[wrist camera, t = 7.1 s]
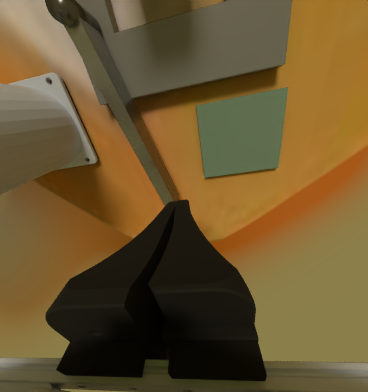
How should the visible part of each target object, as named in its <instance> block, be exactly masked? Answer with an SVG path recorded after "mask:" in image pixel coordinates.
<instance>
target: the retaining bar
mask: <svg viewBox="0 0 368 392" xmlns="http://www.w3.org/2000/svg"><path fill="white" fill-rule="evenodd" d="M45 3H46V6H47V9H48V11H49V12H50V14H51V15H52V17H53V18H54V19H56V20H57V21H58V22H60V23H62V24H63V25H64V26H65V28H66V30H67V32H68V33H69V35H70V37H71V39H72V41H73V42H74V44H75V46H76V48H77V50H78V51H79V53H80V55H81V57H82V58H83V60H84V62H85V64H86V66H87V67H88V69H89V71H90V73H91V75H92V76H93V78H94V80H95V82H96V83H97V85H98V87H99V89H100V91H101V92H102V94H103V96H104V98H105V100H106V101H107V103H108V105H109V107H110V109H111V110H112V112H113V114H114V116H115V117H116V119H117V121H118V123H119V125H120V126H121V128H122V130H123V132H124V134H125V135H126V137H127V139H128V141H129V142H130V144H131V146H132V148H133V150H134V151H135V153H136V155H137V157H138V159H139V160H140V162H141V164H142V166H143V167H144V169H145V171H146V173H147V175H148V176H149V178H150V180H151V182H152V184H153V185H154V187H155V189H156V191H157V193H158V194H159V196H160V198H161V200H162V201H163V203H164V205H165V206H166V205H167V204H168V202H171V201H178V195H179V194H178V192H177V190H176V188H175V185H174V183H173V181H172V179H171V177H170V175H169V173H168V171H167V169H166V167H165V165H164V163H163V161H162V159H161V157H160V155H159V153H158V151H157V149H156V147H155V145H154V143H153V141H152V138H151V136H150V134H149V132H148V130H147V128H146V126H145V124H144V122H143V120H142V118H141V116H140V114H139V112H138V110H137V108H136V106H135V104H134V102H133V100H132V98H131V96H130V94H129V91H128V89H127V87H126V85H125V83H124V81H123V79H122V77H121V75H120V73H119V71H118V69H117V67H116V65H115V63H114V61H113V59H112V57H111V55H110V53H109V51H108V49H107V47H106V44H105V42H104V40H103V38H102V36H101V34H100V26H99V23H98V21H97V19H96V18H95V17H94V16H93V15H92V14H91V13H89V12H88V11H87V10H86V9H85V8H84V7H83V6H81V5H80V4H79V3H78V2H77V1H76V0H45Z"/></svg>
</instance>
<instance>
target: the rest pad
mask: <svg viewBox="0 0 368 392" xmlns="http://www.w3.org/2000/svg"><path fill="white" fill-rule="evenodd" d="M287 92H288V87H286V88H281V89H276V90H271V91H266V92H261V93H256V94H251V95H246V96H242V97H237V98H232V99H227V100H222V101H217V102H212V103H207V104H202V105H197V106H196V109H197V117H198V126H199V134H200V143H201V151H202V159H203V168H204V176H205V178H207V177H214V176H221V175H228V174H236V173H243V172H250V171H258V170H265V169H272V168H278V164H279V156H280V148H281V140H282V132H283V124H284V116H285V108H286V100H287Z"/></svg>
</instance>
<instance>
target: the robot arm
mask: <svg viewBox="0 0 368 392" xmlns="http://www.w3.org/2000/svg"><path fill="white" fill-rule="evenodd" d="M50 79H51V80H52V84H51V83H50V81H49V80H50ZM87 158H89V160H90V161H88V160H87ZM97 161H98V158H97V156H96V153H95V151H94V149H93V147H92V144H91V142H90V140H89V138H88V136H87V133H86V131H85V129H84V127H83V125H82V122H81V120H80V118H79V116H78V113H77V111H76V109H75V107H74V105H73V102H72V100H71V98H70V96H69V93H68V91H67V89H66V87H65V85H64V82H63V80H62V78H61V77H60V76H59V75H58V74H56V73H48V74H44V75H41V76H37V77H33V78H29V79H26V80H22V81H18V82H14V83H10V84H0V195H1V194H3V193H6V192H8V191H10V190H12V189H14V188H16V187H19V186H21V185H23V184H25V183H27V182H30V181H32V180H34V179H36V178H38V177H40V176H43V175H45V174H47V173H49V172H51V171H53V170H59V169H65V168H71V167H77V166H83V165H89V164H94V163H96V162H97ZM255 313H256V308H255V303H254V300H253V298H252V295H251V293H250V291H249V289H248V287H247V285H246V283H245V282H244V280H243V278H242V277H241V275H240V273H239V272H238V270H237V269H236V268H235V267H234V266H233V265H232V264H230V263H229V262H228V261H227V260H226V259H225V258H224V257H223V256H222V255H221V254H220V253H219V252H218V251H217V250H216V249H215V248H214V247H213V246H212V245H211V244H210V242H209V241H208V240H207V239H206V237H205V236H204V235H203V233H202V232H201V231H200V229H199V228H198V226H197V224H196V222H195V221H194V219H193V217H192V214H191V211H190V206H189V201H188V200H179V201H171V202H168V204H167V205H166V206H165V207H164V208H163V210H162V211H161V212H160V213H159V214H158V215H157V217H156V218H155V219H154V220H153V221H152V222H151V223H150V224H149V225H148V226H147V227H146V228H145V229H144V230H143V231H142V232H141V233H140V234H139V235H138V236H136V237H135V238H134V239H133V240H132V241H130V242H129V243H128V244H126V245H125V246H124V247H122V248H121V249H120V250H118V251H117V252H115V253H114V254H113V255H111V256H109V257H108V258H106V259H105V260H103V261H102V262H100V263H98V264H97V265H95V266H93V267H91V268H89V269H88V270H86V271H84V272H82V273H81V274H79V275H77V276H75V277H73V278H71V279H70V280H69V281H68V283H67V284H66V285H65V287H64V288H63V289H62V291H61V292H60V294H59V295H58V297H57V298H56V299H55V301H54V302H53V304H52V305H51V306H50V308H49V309H48V311H47V312H46V321H47V323H48V324H49V325H50V326H51V327H52V328H53V329H54V330H55V331H57V332H58V333H59V334H61V335H62V336H63V337H65V338H66V339H67V340H69V341H70V344H69V346H68V347H67V349H66V351H65V353H64V355H63V357H62V358H3V357H0V392H69V391H63V390H61V389H83V390H106V391H107V390H108V391H129V392H368V362H299V361H298V362H297V361H263V359H262V355H261V352H260V348H259V344H258V335H257V332H256V329H255V324H254V323H255Z"/></svg>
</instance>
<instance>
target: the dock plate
mask: <svg viewBox="0 0 368 392" xmlns="http://www.w3.org/2000/svg"><path fill="white" fill-rule="evenodd" d="M76 1H77V2H78V3H79V4H80V5H81V6H83V7H84V8H85V9H86V10H87V11H88V12H89V13H91V14H92V15H93V16H94V17H95V18H96V19H97V21H98V23H99V26H100V34H101V36H102V38H103V40H104V42H105V44H106V47H107V49H108V51H109V53H110V55H111V57H112V59H113V61H114V63H115V65H116V67H117V69H118V71H119V73H120V75H121V77H122V79H123V81H124V83H125V85H126V87H127V89H128V91H129V94H130V96H131V98H132V99H136V98H141V97H146V96H150V95H155V94H159V93H164V92H168V91H173V90H177V89H182V88H187V87H191V86H196V85H200V84H205V83H209V82H214V81H218V80H223V79H228V78H232V77H237V76H241V75H246V74H250V73H255V72H259V71H264V70H269V69H273V68H278V67H280V66H282V65H284V64H285V60H286V51H287V42H288V32H289V23H290V14H291V5H292V0H224V2H221V3H218V4H214V5H211V6H207V7H204V8H200V9H197V10H193V11H190V12H186V13H183V14H179V15H176V16H172V17H169V18H165V19H162V20H158V21H155V22H151V23H148V24H144V25H141V26H137V27H134V28H130V29H127V30H123V31H120V32H119V31H118V27H117V24H116V20H115V16H114V13H113V9H112V5H111V2H110V0H76ZM82 59H83V58H82ZM83 61H84V60H83ZM84 64H85V62H84ZM85 66H86V64H85ZM86 69H87V72H88V74H89V77H90V80H91V82H92V85H93V88H94V90H95V93H96V95H97V98H98V101H99V103H100V105H108V103H107V101H106V100H105V98H104V96H103V94H102V92H101V91H100V89H99V87H98V85H97V83H96V82H95V80H94V78H93V76H92V75H91V73H90V71H89V69H88V67H87V66H86Z"/></svg>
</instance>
